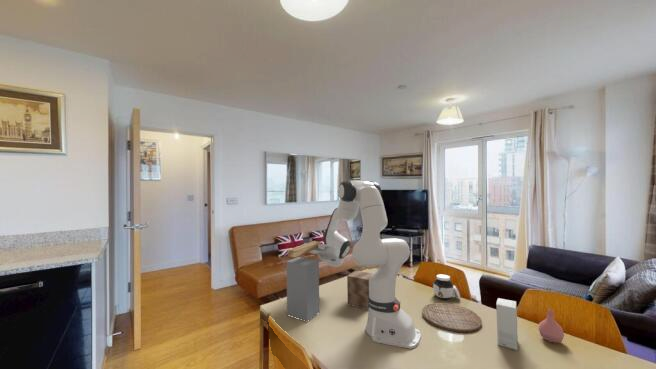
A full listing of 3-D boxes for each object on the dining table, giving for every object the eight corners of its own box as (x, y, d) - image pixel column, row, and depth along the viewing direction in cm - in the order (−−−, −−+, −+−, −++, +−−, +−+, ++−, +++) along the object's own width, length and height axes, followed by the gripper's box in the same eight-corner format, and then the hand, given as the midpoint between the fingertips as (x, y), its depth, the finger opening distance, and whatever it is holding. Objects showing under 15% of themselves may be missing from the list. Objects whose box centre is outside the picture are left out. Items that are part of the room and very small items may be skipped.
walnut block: (376, 302, 138) (375, 274, 138) (369, 309, 130) (368, 279, 130) (355, 297, 144) (355, 270, 145) (347, 304, 136) (347, 275, 136)
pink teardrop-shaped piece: (554, 348, 98) (554, 316, 98) (533, 337, 105) (533, 307, 105) (569, 344, 100) (568, 313, 100) (547, 333, 107) (547, 304, 107)
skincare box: (517, 351, 96) (516, 309, 96) (496, 344, 100) (495, 304, 100) (517, 340, 103) (517, 301, 103) (498, 334, 107) (497, 296, 107)
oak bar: (320, 247, 136) (320, 241, 136) (294, 257, 118) (294, 250, 118) (314, 246, 138) (314, 241, 138) (287, 256, 120) (287, 249, 120)
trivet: (491, 336, 106) (491, 332, 106) (426, 330, 111) (426, 326, 111) (470, 308, 131) (470, 305, 131) (418, 304, 136) (418, 301, 136)
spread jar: (431, 295, 146) (430, 274, 147) (445, 291, 151) (445, 271, 151) (449, 303, 136) (448, 281, 136) (464, 299, 140) (463, 278, 141)
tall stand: (319, 313, 127) (318, 259, 127) (307, 322, 118) (306, 265, 119) (299, 307, 133) (299, 256, 133) (287, 315, 125) (286, 261, 125)
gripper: (311, 245, 151) (299, 237, 141) (342, 249, 141) (331, 240, 130) (308, 256, 148) (295, 248, 138) (340, 261, 138) (328, 253, 128)
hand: (313, 244), depth 134 cm, fingers closed on oak bar, 4 cm apart
